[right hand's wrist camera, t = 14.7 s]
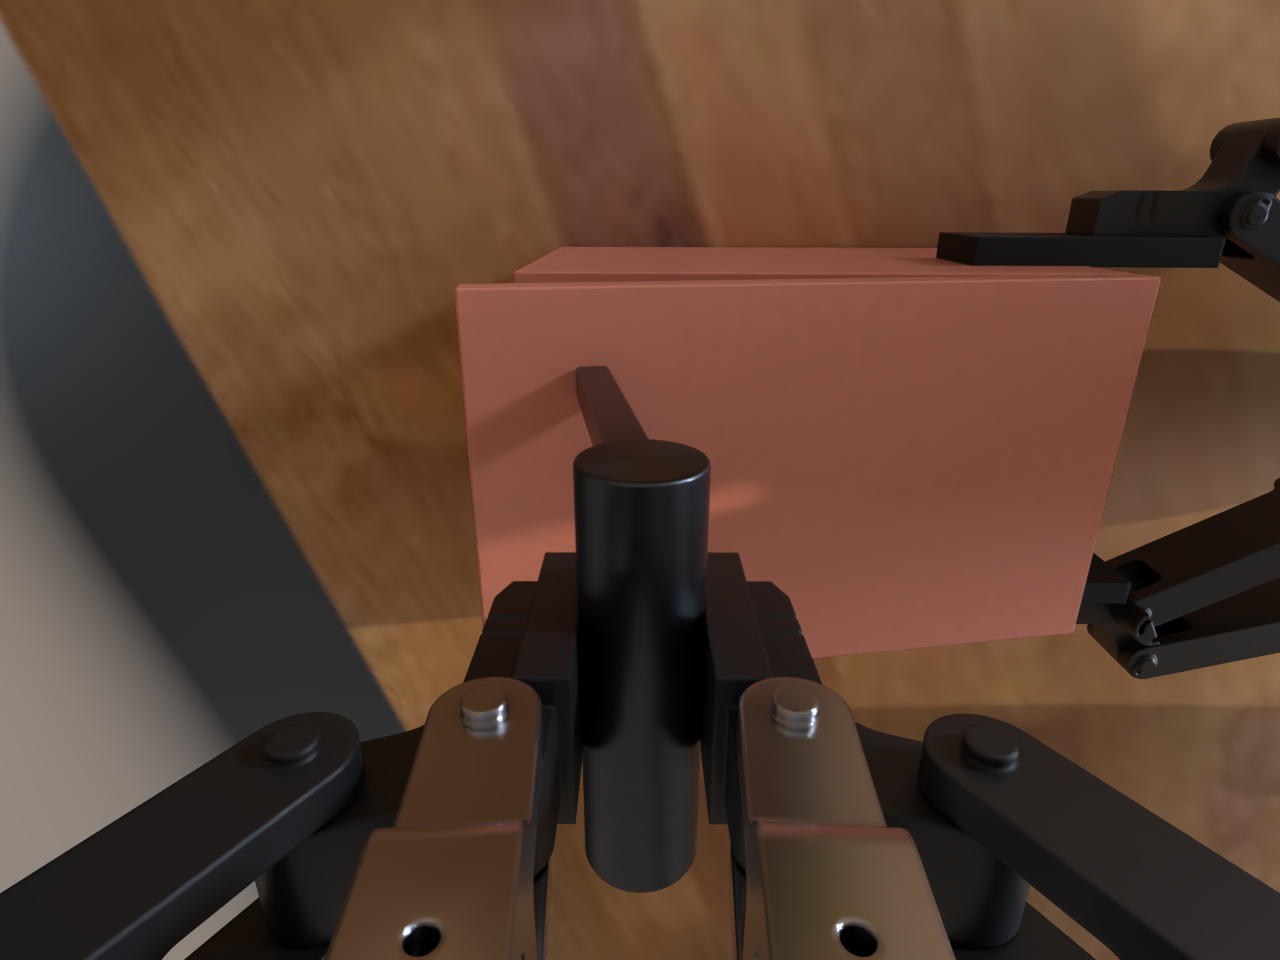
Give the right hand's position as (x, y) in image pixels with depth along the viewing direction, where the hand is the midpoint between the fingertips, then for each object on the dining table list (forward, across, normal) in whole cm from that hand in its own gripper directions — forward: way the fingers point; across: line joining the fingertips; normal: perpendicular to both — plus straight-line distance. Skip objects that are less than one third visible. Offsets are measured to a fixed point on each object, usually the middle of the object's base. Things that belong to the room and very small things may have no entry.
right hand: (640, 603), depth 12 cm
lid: (+6, -4, 0) cm, 7 cm away
